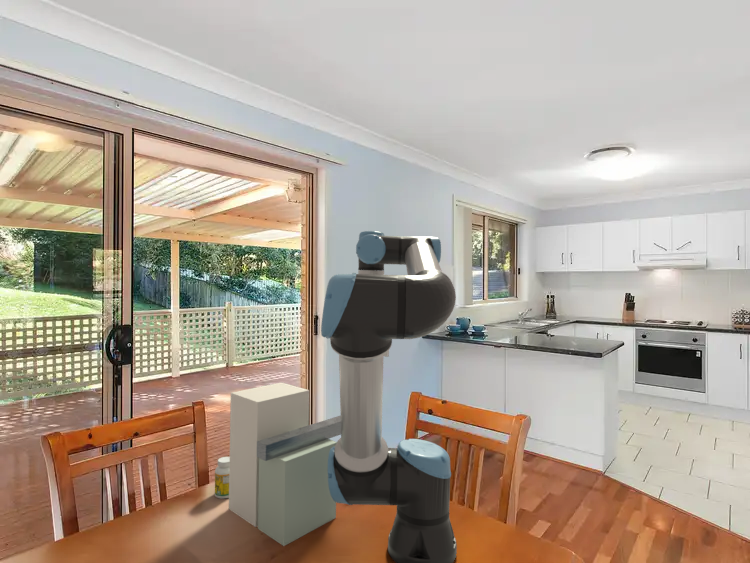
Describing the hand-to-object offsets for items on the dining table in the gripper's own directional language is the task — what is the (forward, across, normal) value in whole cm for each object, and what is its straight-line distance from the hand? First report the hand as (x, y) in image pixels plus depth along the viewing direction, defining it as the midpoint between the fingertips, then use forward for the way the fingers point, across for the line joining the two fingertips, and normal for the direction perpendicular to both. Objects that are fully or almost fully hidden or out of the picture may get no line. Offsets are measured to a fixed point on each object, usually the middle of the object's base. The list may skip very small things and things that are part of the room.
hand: (369, 359), depth 128 cm
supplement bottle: (+37, +31, -25) cm, 54 cm away
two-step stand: (+37, +26, -6) cm, 45 cm away
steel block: (+18, +22, +1) cm, 28 cm away
